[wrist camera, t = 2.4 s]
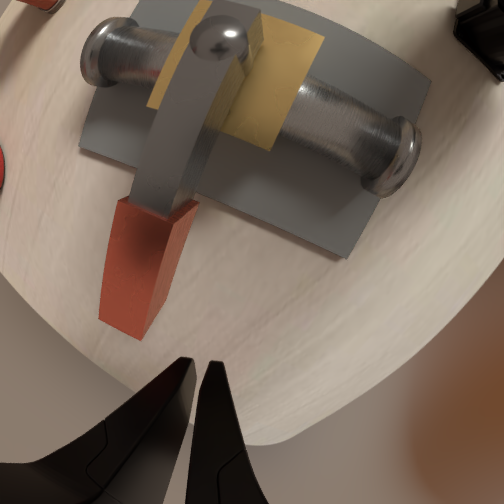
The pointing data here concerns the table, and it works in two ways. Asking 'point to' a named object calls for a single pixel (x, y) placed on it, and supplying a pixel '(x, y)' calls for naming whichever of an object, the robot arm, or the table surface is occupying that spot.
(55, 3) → the lighter
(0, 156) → the beer can
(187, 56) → the lever
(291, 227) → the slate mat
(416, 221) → the table surface
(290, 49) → the valve body
